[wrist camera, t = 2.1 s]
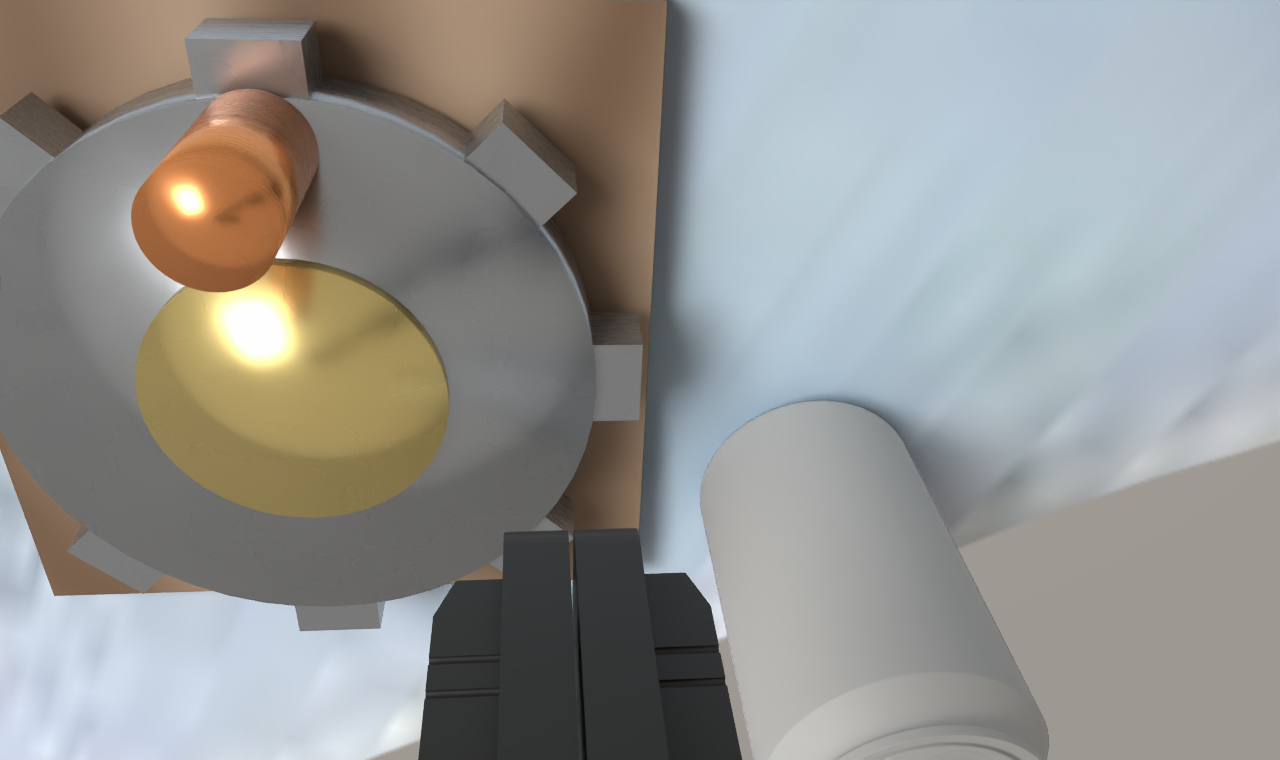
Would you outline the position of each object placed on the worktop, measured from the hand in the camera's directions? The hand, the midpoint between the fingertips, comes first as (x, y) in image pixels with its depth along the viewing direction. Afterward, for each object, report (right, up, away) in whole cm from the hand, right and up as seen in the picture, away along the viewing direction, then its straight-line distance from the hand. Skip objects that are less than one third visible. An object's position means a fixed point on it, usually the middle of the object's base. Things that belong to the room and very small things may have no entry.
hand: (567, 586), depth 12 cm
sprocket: (-7, +3, +14) cm, 16 cm away
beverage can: (+6, 0, +20) cm, 21 cm away
